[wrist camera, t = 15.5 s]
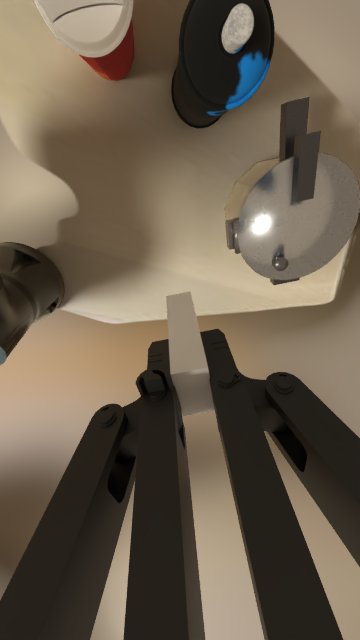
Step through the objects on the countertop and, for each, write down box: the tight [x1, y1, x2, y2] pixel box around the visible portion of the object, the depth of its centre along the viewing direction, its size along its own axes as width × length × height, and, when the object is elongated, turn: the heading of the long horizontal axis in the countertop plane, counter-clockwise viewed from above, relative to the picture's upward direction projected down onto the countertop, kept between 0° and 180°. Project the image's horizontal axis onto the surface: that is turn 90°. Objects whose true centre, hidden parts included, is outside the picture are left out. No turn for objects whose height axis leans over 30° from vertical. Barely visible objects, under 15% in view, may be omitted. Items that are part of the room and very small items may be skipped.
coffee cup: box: [33, 0, 134, 81], centre depth 25 cm, size 8×8×15 cm
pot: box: [225, 97, 309, 285], centre depth 39 cm, size 18×24×9 cm
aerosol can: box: [172, 0, 274, 128], centre depth 26 cm, size 8×8×20 cm
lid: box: [233, 131, 360, 280], centre depth 34 cm, size 18×19×3 cm
